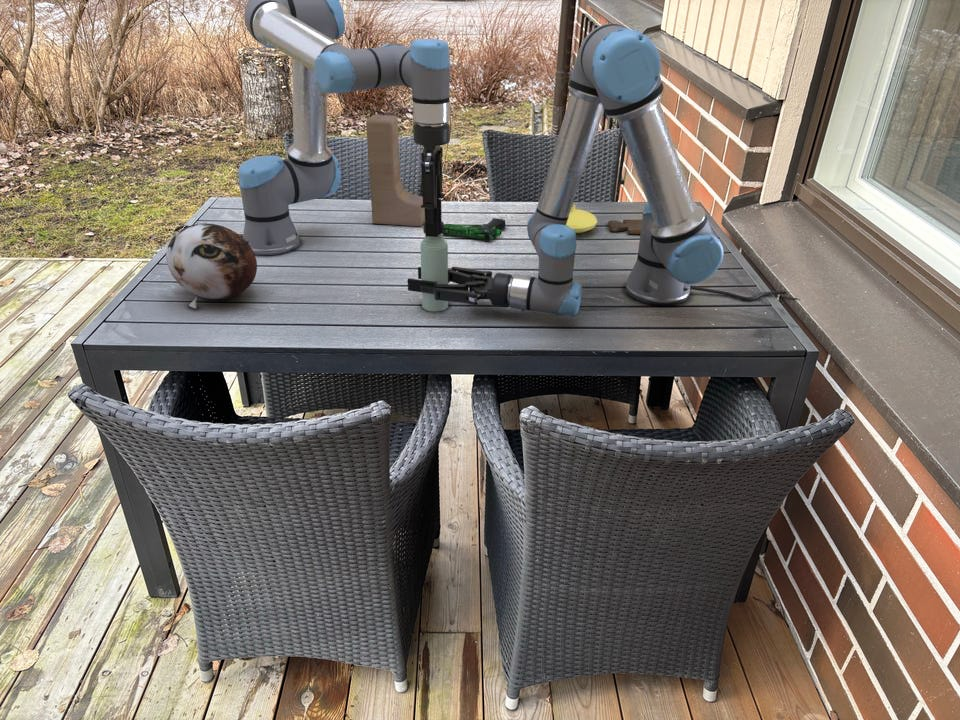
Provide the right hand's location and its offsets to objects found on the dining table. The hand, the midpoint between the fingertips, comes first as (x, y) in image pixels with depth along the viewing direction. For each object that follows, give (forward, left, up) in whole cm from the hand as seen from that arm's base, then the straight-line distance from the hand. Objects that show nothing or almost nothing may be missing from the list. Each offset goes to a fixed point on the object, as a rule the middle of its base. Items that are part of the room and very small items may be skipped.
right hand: (413, 278), depth 164 cm
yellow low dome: (-49, -43, -6) cm, 66 cm away
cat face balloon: (+46, -10, -6) cm, 47 cm away
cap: (-5, +2, +14) cm, 15 cm away
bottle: (-5, +2, -6) cm, 8 cm away
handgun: (-22, -44, -6) cm, 49 cm away
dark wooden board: (-74, -39, -6) cm, 84 cm away
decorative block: (0, -55, -6) cm, 56 cm away
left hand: (-5, +2, +12) cm, 13 cm away
